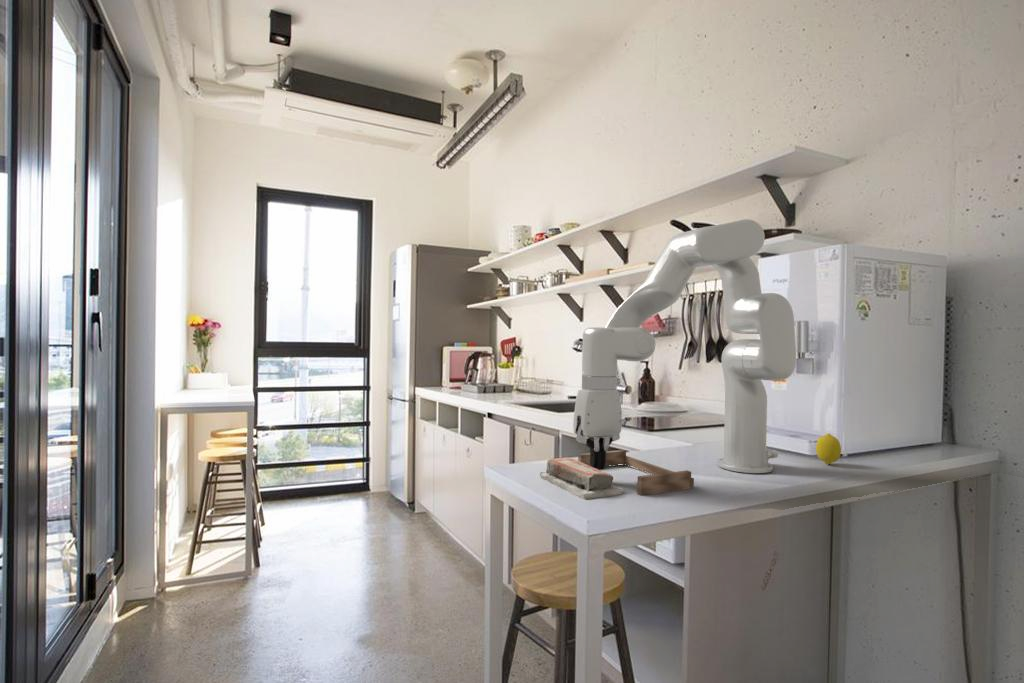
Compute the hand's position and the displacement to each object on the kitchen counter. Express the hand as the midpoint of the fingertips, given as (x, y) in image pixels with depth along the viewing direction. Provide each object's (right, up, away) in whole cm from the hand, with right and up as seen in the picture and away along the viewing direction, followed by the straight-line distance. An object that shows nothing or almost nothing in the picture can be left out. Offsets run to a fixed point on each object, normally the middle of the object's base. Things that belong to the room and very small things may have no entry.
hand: (597, 468), depth 116 cm
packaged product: (-4, -4, -3) cm, 6 cm away
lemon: (+62, -4, +20) cm, 65 cm away
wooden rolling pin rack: (+8, -3, +4) cm, 10 cm away
